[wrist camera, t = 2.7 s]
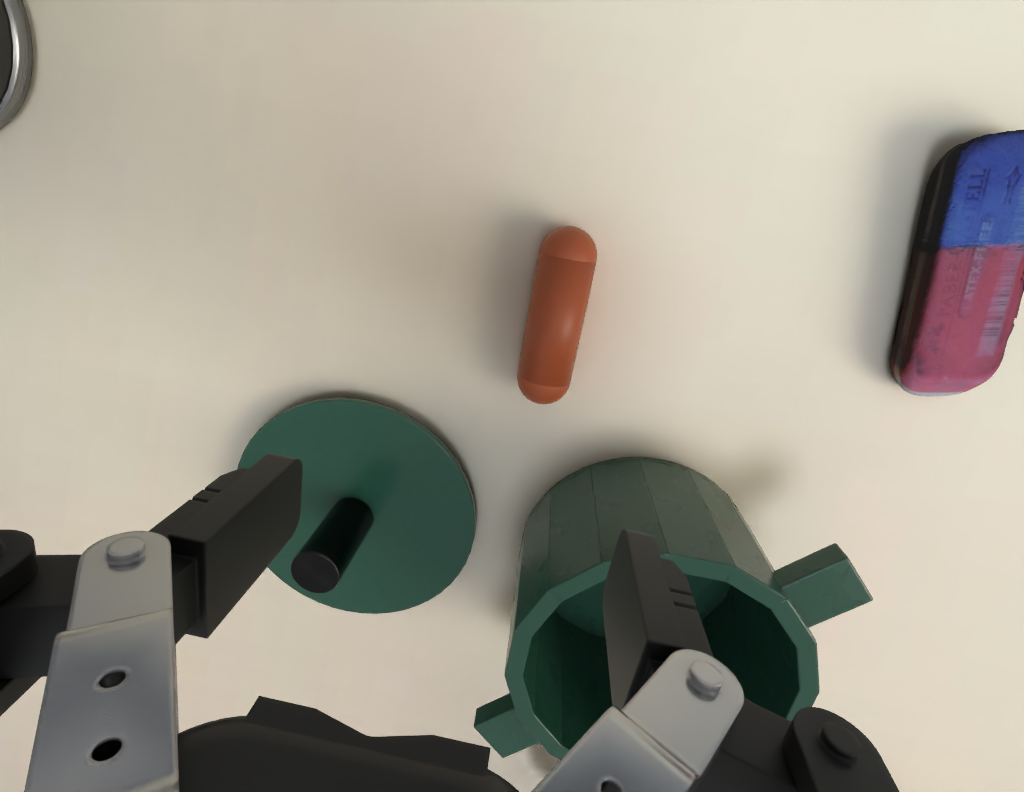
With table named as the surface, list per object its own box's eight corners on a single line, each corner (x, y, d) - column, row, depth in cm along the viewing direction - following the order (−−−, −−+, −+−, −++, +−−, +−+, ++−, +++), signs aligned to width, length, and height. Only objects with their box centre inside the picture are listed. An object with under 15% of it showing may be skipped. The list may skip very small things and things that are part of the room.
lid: (198, 473, 31) (115, 534, 25) (372, 344, 27) (321, 380, 21) (350, 633, 34) (308, 720, 28) (525, 536, 30) (517, 613, 25)
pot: (441, 548, 31) (400, 666, 23) (722, 386, 26) (793, 463, 18) (562, 690, 34) (562, 838, 26) (835, 566, 29) (938, 702, 21)
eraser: (967, 391, 25) (996, 405, 24) (878, 392, 26) (900, 406, 24) (1041, 131, 21) (1083, 125, 20) (934, 136, 22) (966, 132, 20)
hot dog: (545, 220, 24) (543, 222, 22) (600, 230, 24) (605, 233, 22) (515, 388, 27) (510, 406, 25) (564, 397, 27) (564, 416, 25)
